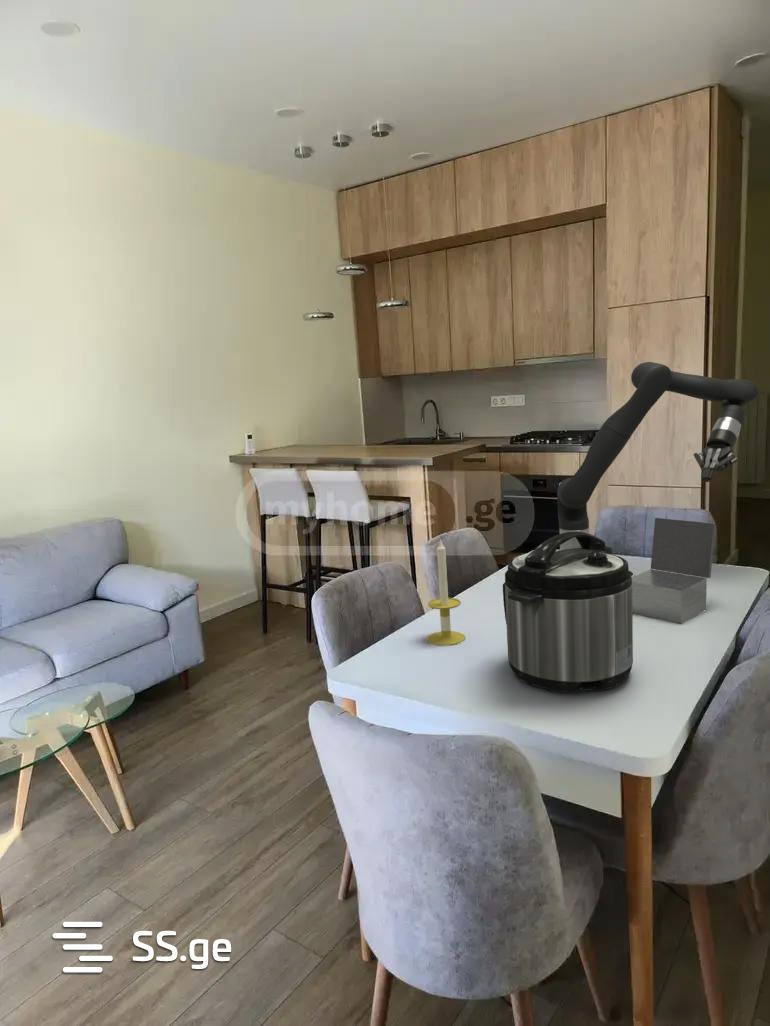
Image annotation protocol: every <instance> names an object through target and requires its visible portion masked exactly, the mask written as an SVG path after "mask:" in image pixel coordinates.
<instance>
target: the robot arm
mask: <svg viewBox="0 0 770 1026" xmlns="http://www.w3.org/2000/svg"><path fill="white" fill-rule="evenodd" d="M630 378H631V383H632V385H633V387H634V388H635V391H634V392H633V394H632V396H631V397H630V398H629V399H628V401H626V403H624V404H623V405H622V406H621V407H620V408H618V409H617V410H616V411H615V412H613V413H612V414H611V415H610V416H609V417H608V418H607V419H606V420H604V422H603V424H602V425H601V426H600V428H599V429H598V431H597V432H596V434H595V436H594V438H593V440H592V441H591V443H590V446H589V448H588V450H587V452H586V455H585V457H584V459H583V462H582V463H581V465H580V467H579V468H578V469H577V470H576V472H575V473H574V474H573V476H572V477H568V478H565V479H563V480H562V481H561V482H560V483H559V485H558V487H557V492H556V494H557V495H556V496H557V497H556V499H557V500H556V501H557V518H558V526H559V534H562V533H566V532H584V533H588V534H590V521H589V516H588V510H587V509H588V508H587V507H588V506H587V505H588V502H589V500H590V499H591V497H592V495H593V493H594V491H595V489H596V488H597V486H598V484H599V482H600V480H601V479H602V477H603V476H604V474H605V472H607V470H609V468H610V467H611V465H612V464H613V463H614V461H615V460H616V458H617V457H618V456H619V454H620V453H621V452H622V450H623V449H624V447H625V446H626V445H627V444H628V441H629V440H630V439H631V438H632V436H633V435H634V432H635V431H636V430H637V428H638V427H639V426H640V424H641V423H642V422H643V420H644V418H645V416H646V415H647V414H648V412H649V411H650V410H651V409H652V408H653V406H654V405H655V404H656V403H657V401H659V399H660V398H661V397H662V396H663V394H664V393H665V392H670V393H675V394H679V395H683V396H686V397H687V396H688V397H691V398H695V399H699V400H704V401H710V402H714V403H717V402H718V403H719V402H721V406H720V413H719V415H718V418H717V420H716V422H715V423H714V426H713V427H712V430H711V432H710V434H709V437H708V439H707V441H706V446H705V448H703V449H702V451H701V452H700V453H698V452H694V453H693V457H694V459H695V460H696V463H697V464H698V466H699V468H700V469H701V471H702V473H701V477H700V478H701V479H702V480H703V483H705V482H706V483H710V481H712V480H713V478H714V476H715V473H717V472H723V471H725V470H726V469H727V468H729V467H730V466H732V465H733V464H735V463H736V462H738V458H737V455H736V454H735V453H733V450H734V447H735V445H736V443H737V441H738V438H739V436H740V431H741V428H742V426H743V423H744V420H745V418H746V411H745V409H744V407H745V406H747V405H749V404H750V403H753V402H754V401H755V400H756V399H757V398H758V397H759V394H760V387H758V385H757V384H756V383H755V382H754V381H752V380H749V379H744V378H743V379H742V378H738V379H736V378H735V379H730V378H729V379H720V378H716V377H709V376H705V375H699V374H698V375H697V374H691V373H684V372H679V371H678V372H677V371H674V370H671V369H670V368H669V366H667V365H665V364H663V363H662V364H661V363H657V362H652V361H644V362H642V363H639V364H638V365H637V366H635V367H634V369H633V370H632V373H631V376H630ZM704 459H705V463H704V461H703V460H704ZM573 548H582V547H581V545H580V544H579V542H578V540H577V539H576V537H574V538H572V539H570V540H568V541H566V542H565V543H563V544H561V545H559V550H564V549H573Z"/></svg>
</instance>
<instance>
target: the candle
mask: <svg viewBox="0 0 770 1026" xmlns="http://www.w3.org/2000/svg"><path fill="white" fill-rule="evenodd" d="M436 554H437V555H436V557H437V558H436V559H437V573H438V588H439V589H438V590H439V598H434V599H431V600H430V601H428V603H427V606H428V607H430V608H431V609H434V610H439V612H440V613H439V615H440V616H439V619H440V631H437V632H436V631H435V632H433V633H431V634H430V635H428V637H427V639H426V640H427V641H429V642H430V643H429V644H431V643H433V644H432V645H434V644H437V645H436V646H439V645H450V646H455V645H454V644H456V645H459V644H461V643H460V642H462V641H463V642H465V640H466V635H465V634H464V633H461V632H460V631H453V630H451V629H452V627H451V614H450V610H451V609H454V608H455V609H456V608H458V607H459V606H460V605H461V600H460V599H459V598H458V599H457V598H455V597H454V598H453V597H449V590H448V576H447V575H448V573H447V555H446V547H445V546H444V545H443V541H442V538H440V540H439V543H438V546H437V547H436ZM463 642H462V643H463ZM458 643H459V644H458Z"/></svg>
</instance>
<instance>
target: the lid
mask: <svg viewBox="0 0 770 1026" xmlns="http://www.w3.org/2000/svg"><path fill="white" fill-rule="evenodd" d="M653 525H654V526H653V527H654V528H653V537H652V538H653V539H652V549H651V559H650V560H651V561H650V569H652V570H658V571H664V572H671V573H677V574H683V575H689V576H696V577H702V578H707V579H710V578H712V567H713V566H712V565H713V554H714V545H715V544H714V543H715V535H716V523H714V522H712V523H711V522H701V521H694V520H693V521H692V520H682V519H670V518H663V517H662V518H660V517H654V524H653Z"/></svg>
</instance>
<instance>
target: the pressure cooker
mask: <svg viewBox="0 0 770 1026" xmlns="http://www.w3.org/2000/svg"><path fill="white" fill-rule="evenodd" d="M574 537H576V539H577V540H578V542H579V544H580V545H581V547H582V548H573V549H564V550H560V549H558V548H560V545H561V544H563V543H565V542H566V541H568V540H570V539H572V538H574ZM633 575H634V572H633V571H630V569H629V562H628V560H627V559H626V558H623V557H621V556H620V555H619V556H618V555H616V554H613V548H612V547H611V546H608V545H607V546H606V542H605V541H604V540H603V539H601V538H600V537H597V536H596V535H594V534H592V533H589V534H588V533H584V532H566V533H562V534H560V533H559V534H556V535H554V536H552V537H549V538H548V539H547V540H544V541H543V542H541V543H540V544H539V545H537V547H535V548H534V549H533V550H532V551H531V552H526V553H522V554H519V555H517V556H514V557H512V558H511V559H509V560H508V561H507V570H506V571H505V572H504V582H503V584H502V595H503V597H502V598H503V599H502V600H503V609H504V610H503V611H504V619H505V625H506V643H507V659H508V664H509V667H510V670H511V671H512V672H513V673H514V675H515V676H516V677H517V678H518V679H519V680H521V681H522V682H524V683H526V684H528V685H531V686H536V687H540V688H543V689H545V690H550V691H554V692H559V693H560V692H561V693H577V692H579V690H582V691H586V690H589V691H603V690H609V689H612V688H615V687H617V686H619V685H620V684H622V683H623V682H624V681H625V680H627V679H628V677H629V675H630V673H631V671H632V667H633V663H634V655H633V654H634V652H633V651H634V646H633V644H634V640H633V639H634V636H633V634H634V632H633V615H634V614H633V609H632V601H633V600H632V577H633Z"/></svg>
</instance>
